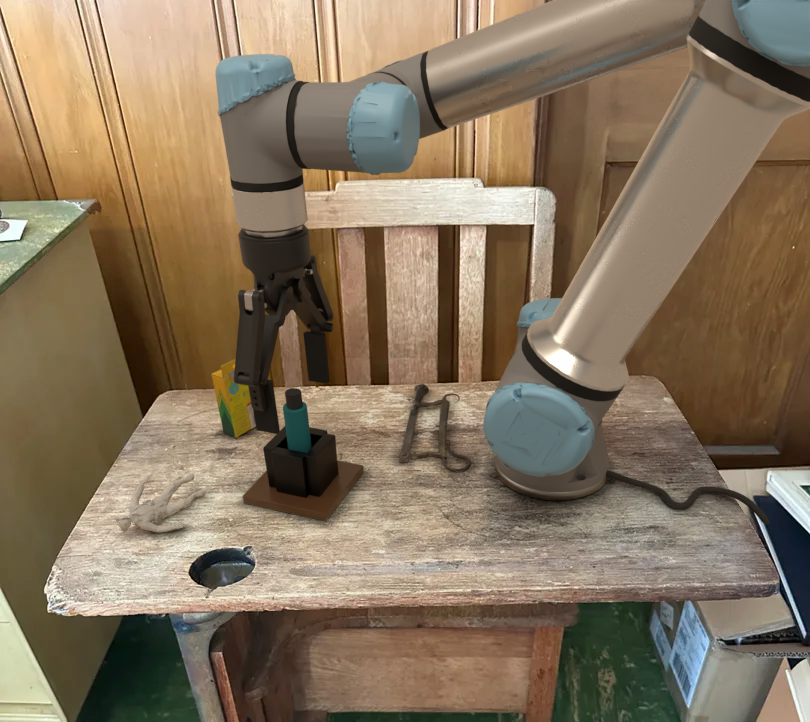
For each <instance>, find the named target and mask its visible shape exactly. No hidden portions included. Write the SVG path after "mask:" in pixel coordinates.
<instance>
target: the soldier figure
mask: <svg viewBox="0 0 810 722" xmlns="http://www.w3.org/2000/svg"><path fill="white" fill-rule="evenodd" d="M152 477H153V475H152V474H147V475H146V476H144V477H143V479H142V480H141V482H139V483H138V485H137V487H136V489H135V490H134V492H133V494H132V497H131V499H130V503H129V505H128V508H127V509H128V515H124V516H121V517H114V520H115V522H116V523H117V525H118V527H119V529H120V530H122V531H123V533H125V535H127V532H128V530H129V529H130V527H131V525H132V524H134V525H135V526H138V527H139V528H140V529H141V530H144V531H149V532H154V533H167V532H172V531H174V530H180V529H182V528H184V527H185V526H186V524H185V522H183V521H179V522H176V523H174V524H169V525H168V524H167V525H162V524H161V525H160V524H159V525H157V524H155V523H156V522H159V521H160V520H164V519H166V518H167V517H170V516H172V515H174V514H176V513H178V512H180V511H181V510H182V509H186V508H187V507H190V506H191V503H192V502H193V501H194V499H195V498H200V497H202V496H204V495H205V493H206V491H205V489H204V488H201V489H199V490H197V491H194V492H193V493H191V494H190V495H189V496H186V497H181V498H180V499H179V500H178V499H177V500H176V501H174V502H171V503H169V502H170V500H171V498H172V497H173V495H174V494H175V493H176V492H177V491H178V490H179V489H180V488H181V486H182V485H184V484H188V483H190V482H192V481H194V480H195V474H194V473H193V472H191V473H189V474H188V475H186V476H184V477H183V478H181V479H178V480H177V481H173V482H170V484H169V485H167V486H165V487H164V489H163V490H162V492H161V493H160V494H159V495H158V496H157V498H154V499H152V500H151V499H146V500H144V501H142V503H141V504H140V499H141V497H142V495H143V492H144V489H145V485H146V484H150V483H152V482H153V481H152V480H150V479H151V478H152ZM149 480H150V481H149ZM153 522H154V523H153Z"/></svg>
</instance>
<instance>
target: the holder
mask: <svg viewBox="0 0 810 722" xmlns="http://www.w3.org/2000/svg"><path fill="white" fill-rule="evenodd" d="M309 429H310V437H311V446H312V448H311V449H310V450H309V452H308V453H305V452H300V451H294V450H289V449H288V443H287V436H286V428H285V425H284V426H283V427H282V428H281V429H280V431H279V432H278V433H277V434H274V436H273V437H272V438H271V439H270V440H269V441H268V442H267V443H266V444H265V445H264V446H263V447H262V448H263V456H264V461H265V469H266V470H265V472H264V473H263V474H262V475H261V476H260V477H259V478H257V480H256V481H255V482H254V483H253V484H252V485H251V486H250V487H249V488H248V489H247V491H246V492H245V493H244V494H243V495H242V501H243V504H246V505H250V506H254V507H259V508H263V509H268V510H271V511H272V510H273V511H277V512H280V513H281V512H282V513H287V514H292V515H295V516H300V517H304V518H310V519H314V520H318V521H324V522H327V521H328V520H329V518H330V517H331V516H332V515H333V513H334V512H335V511H336V509H337V508H338V507H339V505H340V504H341V503H342V501H343V500H344V499H345V497H346V496H347V495H348V494H349V493H350V491H351V490H352V488H353V487H354V486H355V485H356V483H357V482H358V480H359V479H361V476H363V474H364V472H365V471H364V464H359V463H354V462H348V461H343V460H338V452H337V451H338V450H337V440H336V435H335V434H331V433H329V432H328V430H327V429H322V428H316V427H311V426H309Z"/></svg>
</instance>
